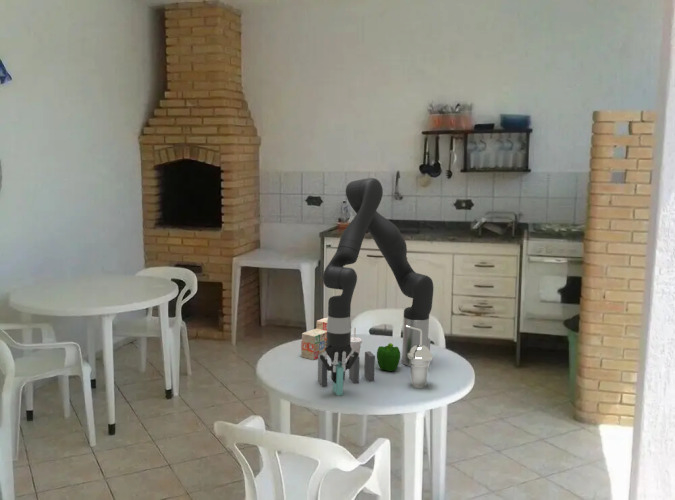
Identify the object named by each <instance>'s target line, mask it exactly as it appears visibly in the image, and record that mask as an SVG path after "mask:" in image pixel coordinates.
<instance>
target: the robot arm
mask: <svg viewBox="0 0 675 500" xmlns="http://www.w3.org/2000/svg"><path fill="white" fill-rule="evenodd" d="M383 194H384V192H383V186H382V184H381V181H380V180H378V179H377V178H374V177H369V178H362V179H358V180H353V181H350V182H349V183H347V185H346V187H345V196H346V200H347V201H348V203H349V206H351V208H352V209H353V211H354V212H355V213H356V214H355V216H354V217H353V219H352V220H351V222H349V224H348V225H347V226H346V227H345V229H344V230H343V232H342V234H341V236H340V238H339V241H338V245H337V248H336V252H335V253H334V255H333V257H332V258H331V260H330V261H329V262H328V264H327V266H326V267H325V269H324V271H323V273H322V281H323V284H324V286H325V287H326V288H329V289H333V290H341V291H342V293H341V294H339V295H332V296H331V297H330V298H329V299H328V307H327V317H328V320H327V346H326V348H325V351H324V352H323V353H319V354H318V356H319V358H320V359H321V361H322V363H323V364H324V366H325V367H326V369H327V372H328V371H329V372H331V374H330V379H331V381H332V383H333V382H334V383H336V373H337V372H336V371H337V363H338V361H339V363H340V364H341V366H342V367H343V368H344V369H343V382H345V381H346V370H347V371H348V370H349V369H350V368H351V367H352V365H353V363H354V362H355V360H356V358H357V357H358V355H359V356H360V353H359V354H358V353H357V352H356V351H355V350H352V348H351V346H350V344H351V337H352V335H351V334H352V319H351V313H352V312H351V310H352V309H351V306H352V305H351V304H352V299H353V295H354V292H355V289H356V286H357V282H358V274H357V272H356V271H355V269H353V268H352V267H345V266H348V265H353V264H355V263H356V262H357V260H358V259H359V258H358V257H359V254H360V251H361V248H362V245H363V241H364V237H365V236H366V233H367V231H368V232H369V234H370V236H371V237H372V238H373V240H374V243H375V244H376V246H377V248H378V249H379V251H380V253H381V254H382V256H383V258H384V260H385V261H386V262H387V265H388V266H389V268H390V270H391V272H392V275H393V276H394V278H395V281H396V283H397V284H398V287H399V289H400V291H401V293H402V294H403V295H404V296H406V297H407V298H409V299H412V302H411V306H408V307H405V308H404V309H403V320H402V321H403V322H402V323H403V324H402V327H403V328H402V345H401V346H402V350H401V352H402V353H401V363H402V364H403V365H405V366H408V367H411V366H410V362H409V358H408V357H407V354H408V353H409V352H410V350H411V348H412V347H413V346H415V345H418V344H420V331H418V330H414V329H410V328H407V327H406V325H407V326H411V327H415V328H419V329H421V330H422V345H425V346H426V347H427V348H428V349H429V350H430V351H431V338H430V337H429V329H430V313H431V311H432V308H433V299H434V283H433V279H432V278H431V277H430V276H429V275H426V274H422V273H418V272H416V271H415V270H414V269H413V267H411V264H410V263H409V261H408V258H407V255H408V254H407V252H408V251H407V250H408V249H407V242H406V241H405V239H404V237H403V235H402V233H401V231H400V229H399V228H398V227H397V225H396V224H394V223H393V222H392V221H390V220H389V219H387V218H386V217H384V216H383V215H382V214H380V212H378V210H377V209H379V207H380V204H381V201H382V198H383ZM349 354H350V357H349V359H348V360H347V357H348V355H349ZM327 356H328V358H330V364H329V362H327V361H326V358H327Z"/></svg>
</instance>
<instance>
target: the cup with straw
mask: <svg viewBox="0 0 675 500" xmlns="http://www.w3.org/2000/svg"><path fill="white" fill-rule="evenodd" d="M406 327H407V328H410V329H414V330H418V331H420V344H418V345H415V346H413V347H412V348H411V350H410V352H409V353H408V354H407V357H408V358H409V362H410V366H409V367H410V377H411V378H410V380H411V386H412V387H414V388H417V389H418V388H422V389H423V388H425V387H426V384H427V378H428V373H429V372H428V371H429V367H430V364H431V361H432V360H433V358H434V356H433V354H432V353H431V349H430V350H429V349H428V348H427V347H426V346H425V345H422V330H421V329H419V328H415V327H411V326H407V325H406Z"/></svg>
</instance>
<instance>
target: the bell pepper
mask: <svg viewBox="0 0 675 500" xmlns="http://www.w3.org/2000/svg"><path fill="white" fill-rule="evenodd" d="M376 360H377V361H376V362H377V365H378V367H379V369H380V370H382V371H386V372H395V371H396V370H397V368H398V367H399V364H400V360H401V351H400V348H399V347H398V346H394V344H393V343H391V342H390V343H388V344H387V345H385V346H382V345H381V346H378V348H377V351H376Z"/></svg>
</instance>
